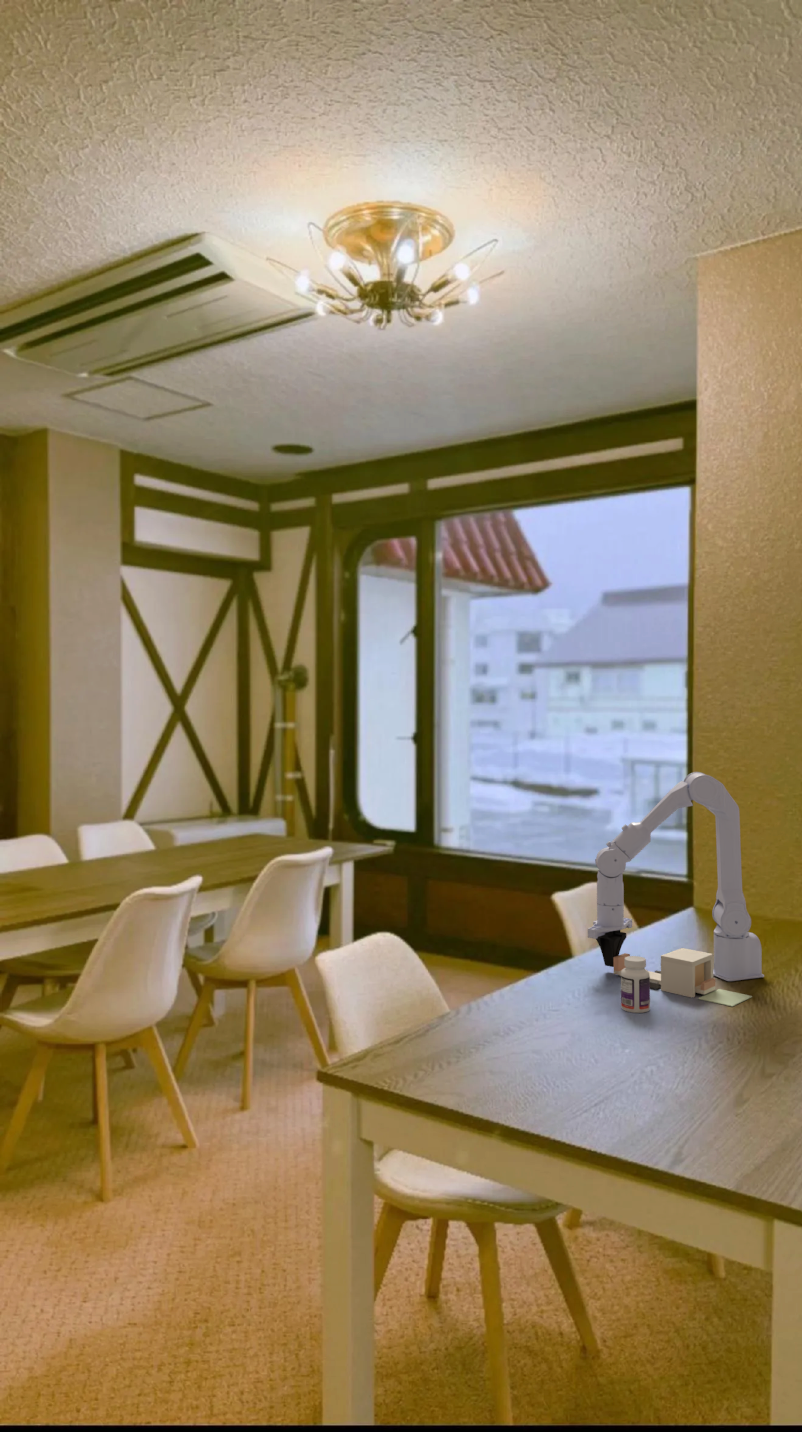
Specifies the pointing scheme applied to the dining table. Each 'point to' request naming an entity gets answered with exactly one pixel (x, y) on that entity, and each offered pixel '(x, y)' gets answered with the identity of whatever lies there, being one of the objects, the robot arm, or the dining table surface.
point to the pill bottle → (635, 985)
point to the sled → (700, 984)
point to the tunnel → (684, 970)
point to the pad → (725, 997)
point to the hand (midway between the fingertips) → (610, 965)
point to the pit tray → (655, 983)
